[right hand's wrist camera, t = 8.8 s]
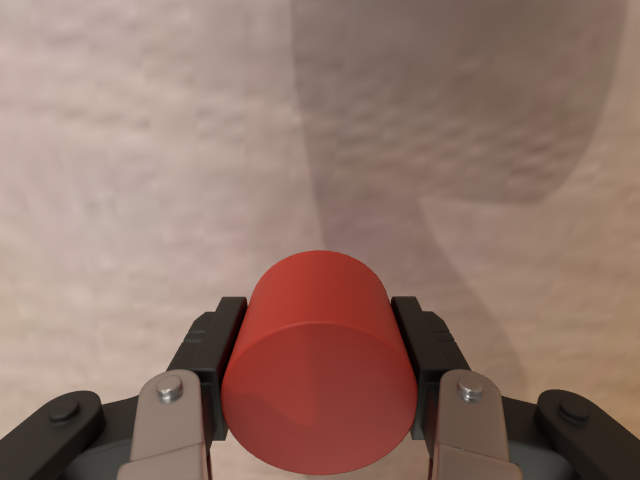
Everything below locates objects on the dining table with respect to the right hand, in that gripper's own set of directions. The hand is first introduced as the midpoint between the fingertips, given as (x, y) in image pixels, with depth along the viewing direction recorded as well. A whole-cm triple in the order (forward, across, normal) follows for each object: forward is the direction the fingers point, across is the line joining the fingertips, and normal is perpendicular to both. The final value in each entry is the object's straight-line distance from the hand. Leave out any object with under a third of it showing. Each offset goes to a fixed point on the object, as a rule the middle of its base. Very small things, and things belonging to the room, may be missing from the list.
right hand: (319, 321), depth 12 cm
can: (+1, 0, 0) cm, 1 cm away
